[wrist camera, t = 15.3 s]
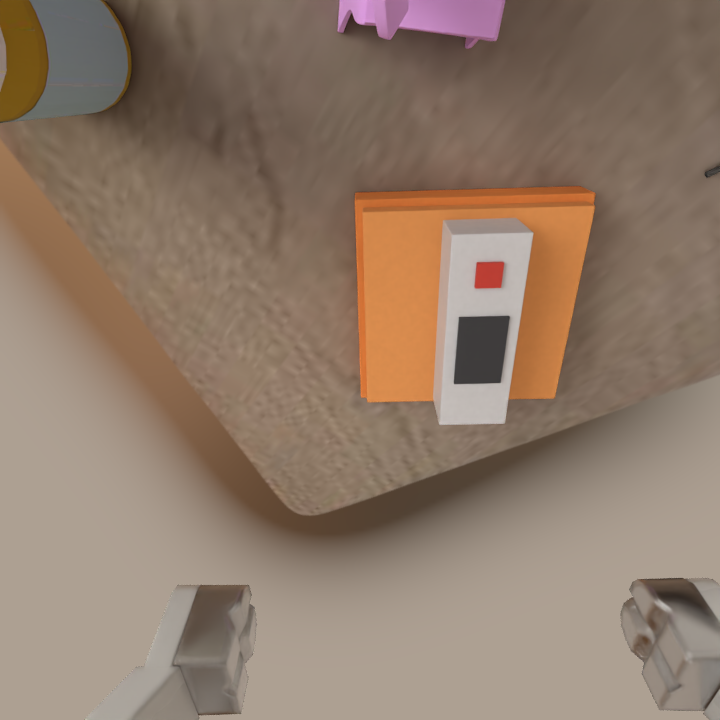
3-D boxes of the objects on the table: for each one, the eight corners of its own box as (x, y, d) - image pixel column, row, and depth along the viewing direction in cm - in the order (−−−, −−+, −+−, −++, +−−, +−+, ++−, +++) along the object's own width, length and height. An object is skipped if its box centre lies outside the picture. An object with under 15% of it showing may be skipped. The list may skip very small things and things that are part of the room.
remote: (442, 219, 31) (452, 236, 28) (516, 217, 31) (535, 233, 28) (432, 397, 38) (439, 427, 35) (493, 396, 38) (506, 426, 34)
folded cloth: (355, 192, 34) (354, 204, 31) (580, 185, 34) (605, 197, 30) (361, 381, 42) (361, 407, 38) (543, 377, 42) (560, 403, 38)
